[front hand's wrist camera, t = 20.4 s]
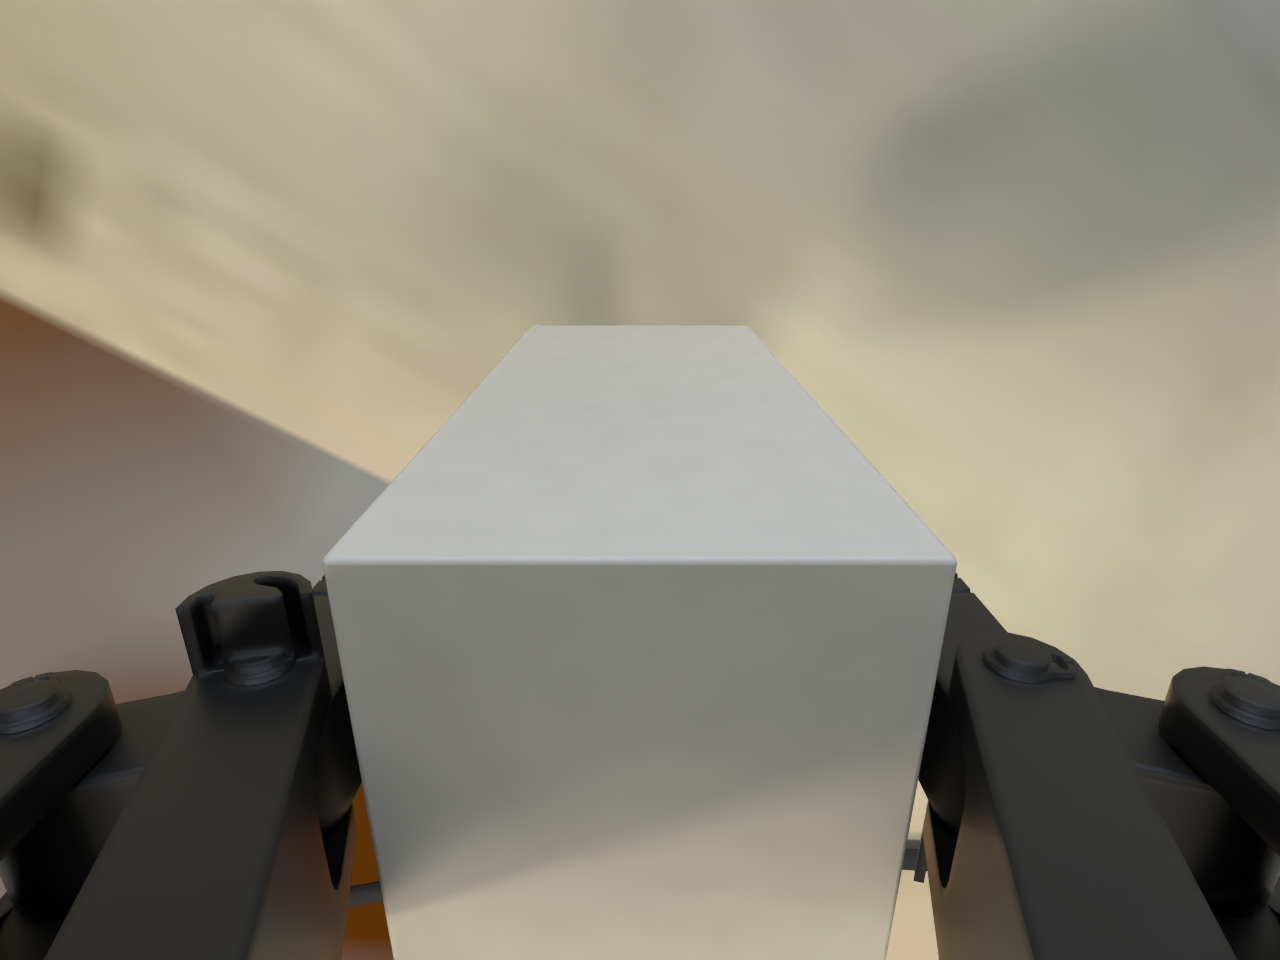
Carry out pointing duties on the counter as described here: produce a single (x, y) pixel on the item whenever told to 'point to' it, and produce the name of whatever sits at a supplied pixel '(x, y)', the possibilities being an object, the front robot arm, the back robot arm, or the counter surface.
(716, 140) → the counter surface
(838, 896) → the block
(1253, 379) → the counter surface
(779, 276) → the counter surface
